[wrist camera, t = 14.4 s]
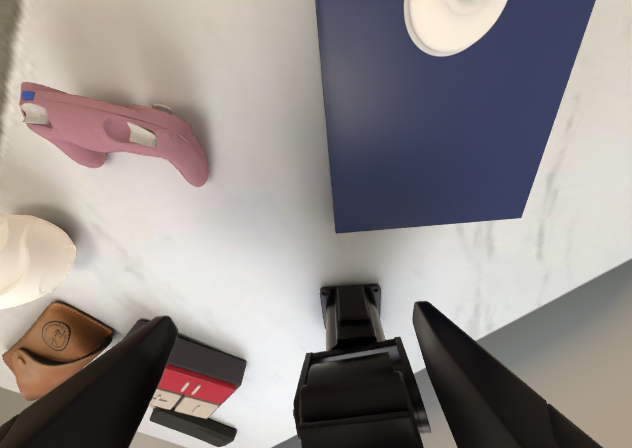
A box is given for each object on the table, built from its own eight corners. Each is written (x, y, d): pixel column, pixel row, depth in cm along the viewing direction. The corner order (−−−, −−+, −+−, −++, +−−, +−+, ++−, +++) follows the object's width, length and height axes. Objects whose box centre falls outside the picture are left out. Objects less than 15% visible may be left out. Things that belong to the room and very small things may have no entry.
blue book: (494, 202, 20) (521, 218, 17) (334, 217, 21) (335, 233, 18) (593, -161, 11) (680, -247, 8) (306, -101, 12) (301, -161, 9)
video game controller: (220, 137, 19) (172, 90, 12) (211, 190, 19) (158, 174, 12) (101, 114, 19) (-22, 51, 12) (92, 168, 19) (-35, 139, 12)
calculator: (207, 423, 33) (93, 395, 28) (218, 389, 36) (119, 360, 32) (240, 391, 28) (111, 352, 24) (249, 357, 32) (139, 318, 28)
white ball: (76, 202, 21) (-45, 250, 14) (112, 267, 24) (29, 330, 17) (-5, 202, 21) (-163, 249, 14) (42, 267, 25) (-67, 328, 18)
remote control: (153, 407, 40) (225, 439, 43) (146, 419, 38) (221, 451, 42) (165, 397, 38) (239, 431, 42) (157, 409, 36) (235, 443, 40)
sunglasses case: (47, 298, 26) (20, 362, 22) (121, 303, 31) (109, 356, 27) (0, 355, 32) (-28, 414, 28) (69, 351, 37) (53, 400, 33)
